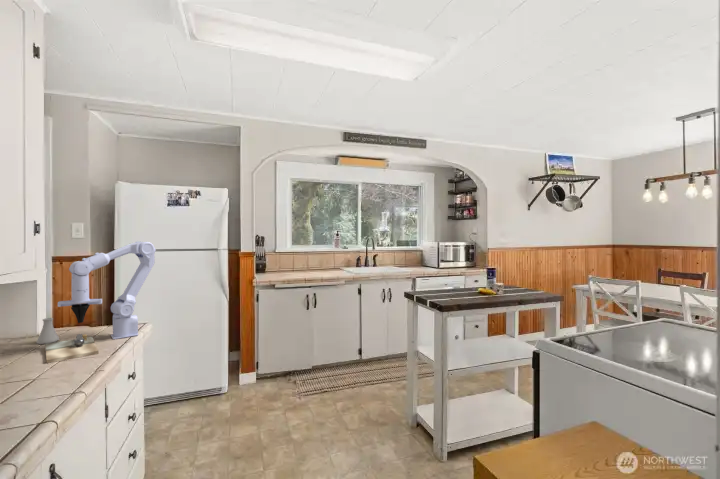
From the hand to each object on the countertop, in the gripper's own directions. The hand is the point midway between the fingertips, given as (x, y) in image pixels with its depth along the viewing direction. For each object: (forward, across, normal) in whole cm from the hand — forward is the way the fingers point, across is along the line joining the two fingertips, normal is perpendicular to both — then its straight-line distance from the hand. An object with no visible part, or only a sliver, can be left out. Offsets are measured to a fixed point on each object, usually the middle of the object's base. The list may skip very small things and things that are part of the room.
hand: (80, 322), depth 146 cm
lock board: (+9, +1, +8) cm, 12 cm away
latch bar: (+7, 0, +3) cm, 8 cm away
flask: (+10, +14, -10) cm, 20 cm away
